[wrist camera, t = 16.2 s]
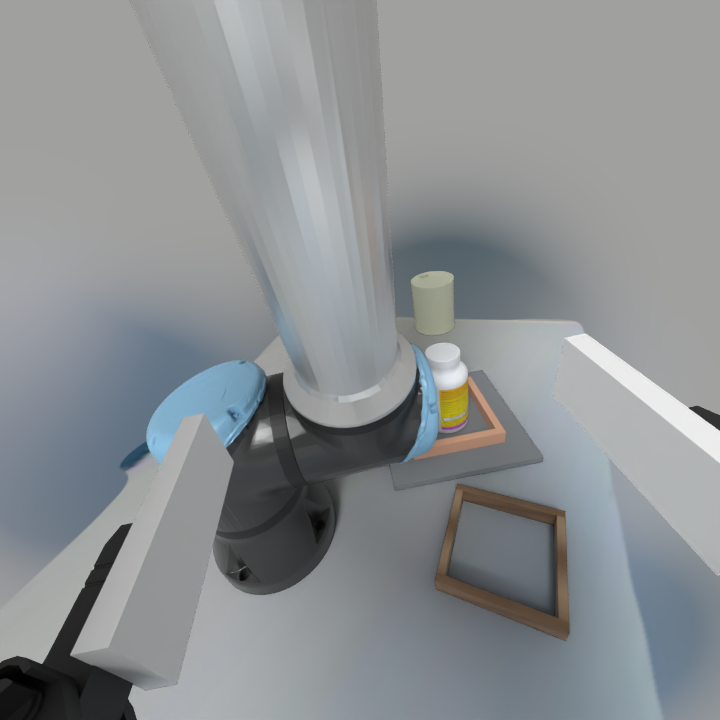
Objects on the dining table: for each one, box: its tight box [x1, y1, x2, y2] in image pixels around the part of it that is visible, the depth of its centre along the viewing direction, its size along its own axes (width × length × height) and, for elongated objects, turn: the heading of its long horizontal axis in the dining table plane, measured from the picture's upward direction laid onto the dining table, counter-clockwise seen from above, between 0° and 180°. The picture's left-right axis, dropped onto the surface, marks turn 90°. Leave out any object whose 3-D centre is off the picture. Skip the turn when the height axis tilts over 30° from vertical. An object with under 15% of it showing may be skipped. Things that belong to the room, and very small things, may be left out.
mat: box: [390, 370, 543, 491], centre depth 53 cm, size 20×20×1 cm
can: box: [411, 271, 455, 335], centre depth 75 cm, size 9×9×12 cm
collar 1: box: [414, 377, 506, 460], centre depth 52 cm, size 13×13×2 cm
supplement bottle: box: [425, 343, 468, 433], centre depth 49 cm, size 7×7×13 cm
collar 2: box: [435, 484, 570, 641], centre depth 36 cm, size 12×12×2 cm
